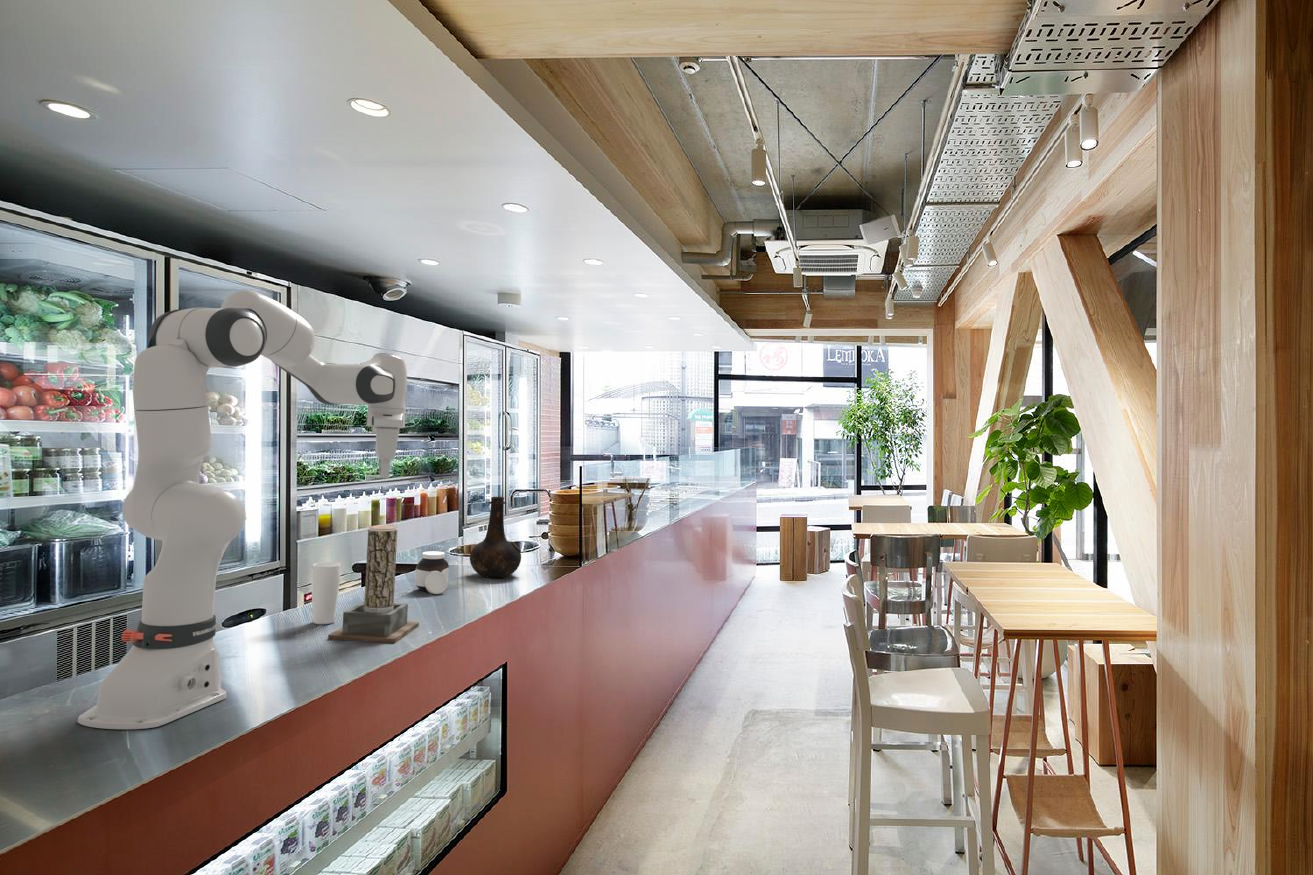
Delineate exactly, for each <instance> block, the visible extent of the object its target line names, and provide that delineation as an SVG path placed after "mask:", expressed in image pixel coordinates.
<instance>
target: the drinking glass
mask: <svg viewBox="0 0 1313 875" xmlns="http://www.w3.org/2000/svg"><path fill="white" fill-rule="evenodd" d="M341 564H342V563H339V562H336V561H322V562H321V561H320V562H315V563H313V564H312V565H311V566H312V567H311V577H310V578H311V582H310V583H311V585H310V586H311V606H312V608H311V610H312V611H311V612H312V618H311V620H312V623H313V624H315V625H319V626H321V625H322V626H323V625H329V624H333V623H335V620H336V613H337V603H338V598H339V589H340V584H341V568H342V566H341Z"/></svg>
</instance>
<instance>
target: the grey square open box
mask: <svg viewBox="0 0 1313 875" xmlns="http://www.w3.org/2000/svg"><path fill="white" fill-rule="evenodd" d="M408 608H409V604H408V603H395V602H394V606H393V610H392V611H391V612H389V613H371V612H364V601H362V602H361V603H358V604H357V605H354V606H353V607H350V608H349V609H347V610H345V611H343V613H342V614H343V615H342V627H340V628H338V629H336V630H334V631H333V632H331V633H328V635H327V636H328V637H327V640H333V639H335V641H352V642H353V641H354V642H366V643H367V642H368V643H370V642H371V643H385V644H388V643H389V644H396V643H397V642H399V641H400V640H401V639H403V638H404V637H405V636H407V635H408V634H409V633H411V632H413V631H414V630H415V629H417V628H418V627H419V626H420V622H419V621H409V620H408V613H409V612H408Z"/></svg>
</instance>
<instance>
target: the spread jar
mask: <svg viewBox="0 0 1313 875" xmlns="http://www.w3.org/2000/svg"><path fill="white" fill-rule="evenodd" d="M445 555H446V554H445V552H444V551H435V550H434V551H433V550H431V551H430V550H429V551H424V552H422V553H421V559H420V561H418V563H417V564H416V568H415V574H414V575H415V577H414V578H415V580H414V582H415V583H414V584H415V586H416V588H417V589H419V590H420V591H421V592H427V593H430V594H432V595H439V594H441V593H444V592H445V591H446V590H447V588H448V584H449V583H448V582H449V578H450V566H449V563H448V560H446V559H445Z"/></svg>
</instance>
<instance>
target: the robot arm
mask: <svg viewBox="0 0 1313 875" xmlns="http://www.w3.org/2000/svg"><path fill="white" fill-rule="evenodd" d="M315 343H316V335H315V331H314V328H313V326H312V325H311V324H310V323H309V322H308V321H307V320H306V319H304V318H303V317H302V316H301V314H300V315H299V313H297V312H295V311H294V310H292V309H291V308H289V307H288V306H286V305H284V304H283V303H281V302H280V301H277V300H276V299H273V298H272V297H269V296H267V295H265V294H263V293H261V292H258V291H255V290H253V289H240V290H236V291H234V292H232V293H231V294H229V295H228V296H227V297H226V298H225V299H224V301H223V302H222V303H221V306H220V308H219V307H216V308H215V307H204V306H201V307H200V306H199V307H190V308H186V309H181V308H179V309H173V310H169V311H167V312H165V313H162V314H161V315H159V316H158V317H157V318H155V320H154V321H153V322H152V324H151V326H150V329H149V333H148V342H147V345H146V346H147V348H146V349H143V350H142V351H141V352H139V354H138V355H137V356H136V357H135V361H134V366H133V367H134V368H133V378H132V398H133V399H132V400H133V409H134V410H133V411H134V418H135V419H134V420H135V428H136V436H137V448H138V451H137V452H138V455H137V456H138V457H137V466H136V470H135V476H134V482H133V485H132V489H131V491H129V493H128V494H127V495H126V497H125V499H124V502H123V503H122V508H121V509H122V510H121V512H122V513H121V514H122V517H123V519H124V522H125V523H126V524H127V525H128V527H130V528H131V529H132V530H134V531H136V532H137V533H138V534H141V535H142V536H144V537H146V538H149V539H152V540H159V541H162V545H161V551H160V553H159V555H158V559H157V561H156V563H155V565H154V566H153V568H152V569H151V570H149V572H147V574H146V575H145V577H144V578H143V586H142V602H141V603H142V605H141V606H142V607H141V620H139V622H138V624H137V626H136V628H135V629H134V630H132V629H125V630H124V631H123V632H122V634H121V641H122V642H123V643H124V642H125V643H127V642H131V644H132V647H131V648H130V649H129V650H128V652H126V654H125V655H124V656H123V657H122V658H121V659H120V660H119V661H118V663H116V665H115V666H114V667H113V669H111V671H110V672H109V673H108V674H107V675H106V676H105V678H104V679H103V680H102V681H101V683H100V686H99V690H98V694H97V701H96V704H95V705H94V706H92V707H90V708H89V709H87V710H86V711H84V712H83V713H82V714H79V716H78V718H77V723H78V724H80V725H82V726H85V727H89V728H96V729H107V730H141V729H142V730H143V729H144V730H145V729H150V728H153V729H154V728H157V727H161V726H163V725H166V724H169V723H170V722H174V721H176V720H177V719H180V718H182V717H185V716H187V715H189V714H192V713H194V712H197V711H199V710H201V709H203V708H206V707H208V706H209V707H210V706H211V705H213V704H215V703H218V702H220V701H222V700H225V699H226V698H227V691H226V690H224V689H223V688H222V678H221V675H222V674H221V661H220V660H221V659H220V652H219V649H217V646H216V644H215V640H214V637H215V636H216V630H217V624H218V623H217V616H216V615H215V614H214V613H215V612H214V611H215V595H216V583H217V576H218V571H219V568H220V564H221V561H222V559H223V556H224V553H225V552H226V550H227V547H228V546H229V544H230V543H231V542H232V541H233V540H234V539H235V538H236V537H238V535H239V534H240V533H241V531H242V530H243V528H244V525H245V522H246V509H245V508H246V507H245V506H244V504H243V502H242V500H240V497H238V496H236V495H235V494H233V493H231V492H228V491H227V490H225V489H222V488H221V487H219V486H216V485H215V486H214V485H207V484H200V475H201V474H200V473H201V468H202V464H203V461H204V459H205V457H206V455H208V454H209V452H210V451H211V449H212V444H213V442H212V433H211V431H212V430H211V425H210V424H211V423H210V412H209V406H208V405H209V403H208V396H207V391H206V386H205V380H206V376H207V373H208V371H209V369H211V368H225V367H241V366H244V365H248V364H251V363H252V362H254V361H256V360H257V359H258V358H259V357H260V356H263V357H265V358H266V359H268V360H270V361H271V362H272V363H273V364H274V365H276V366H277V367H278V368H280V369H281V370H283V371H284V372H285V373H287V374H288V375H290V376H291V377H293V378H295V380H297V381H298V382H300V383H302V384H303V385H304V386H305V387H306V388H307V389H308V390H309V392H310V393H311V394H312V395H313V396H314V398H315V399H316V400H317V401H318V402H319V403H321V404H323V405H327V406H334V405H336V406H337V405H355V406H357V405H361V406H367V415H366V417H367V418H366V419H367V420H366V426H367V427H371V428H372V429H371V433H372V434H376V435H375V449H374V451H375V455H376V457H377V458H378V474H379V475H380V477H381V478H388V477H389V475H390V468H391V460H394V459H395V456H396V452H397V448H398V447H397V446H398V440H399V435H400V429H405V428H406V408H407V406H406V403H405V399H406V395H407V391H408V374H407V372H408V371H407V366H406V362H405V360H404V359H403V358H401V357H400V356H397V355H395V354H389V353H384V352H381V353H380V352H379V353H375V354H374V355H373V356H372V358H370V359H369V360H367V361H364V362H361V363H355V364H354V363H351V364H350V363H348V364H347V363H334V362H333V363H329V362H326V363H325V362H321V361H320V360H318V359H317V358H316V357H315V356H313V355H311V354H312V352H313V349H314V347H315V345H316V344H315Z"/></svg>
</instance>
